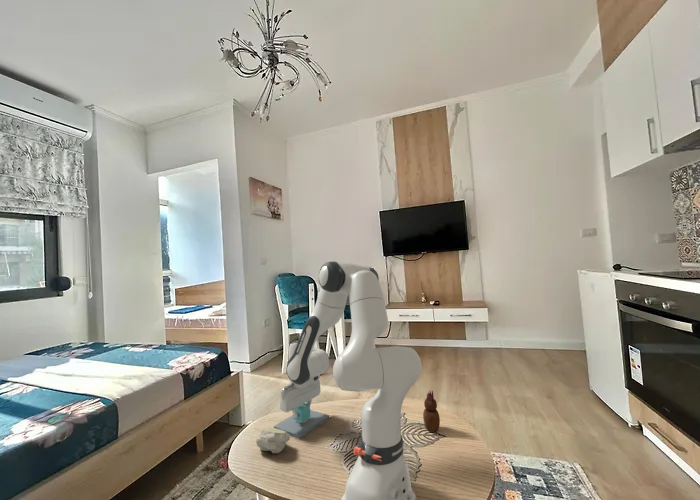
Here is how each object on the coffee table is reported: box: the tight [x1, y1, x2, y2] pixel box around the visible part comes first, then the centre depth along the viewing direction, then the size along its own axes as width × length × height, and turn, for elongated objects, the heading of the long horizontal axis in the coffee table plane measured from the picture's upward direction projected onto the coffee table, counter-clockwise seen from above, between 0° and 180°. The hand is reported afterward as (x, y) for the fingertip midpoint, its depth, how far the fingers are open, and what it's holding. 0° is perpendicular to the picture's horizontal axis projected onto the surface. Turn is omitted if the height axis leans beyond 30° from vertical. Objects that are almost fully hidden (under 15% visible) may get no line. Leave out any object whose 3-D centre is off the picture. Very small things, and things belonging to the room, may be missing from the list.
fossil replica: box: [255, 427, 291, 455], centre depth 112 cm, size 12×8×10 cm
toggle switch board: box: [273, 409, 330, 440], centre depth 130 cm, size 18×14×6 cm
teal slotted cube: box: [292, 402, 311, 422], centre depth 130 cm, size 5×5×5 cm
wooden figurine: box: [422, 390, 441, 433], centre depth 121 cm, size 7×6×15 cm
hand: (301, 414), depth 130 cm, fingers closed on teal slotted cube, 5 cm apart
